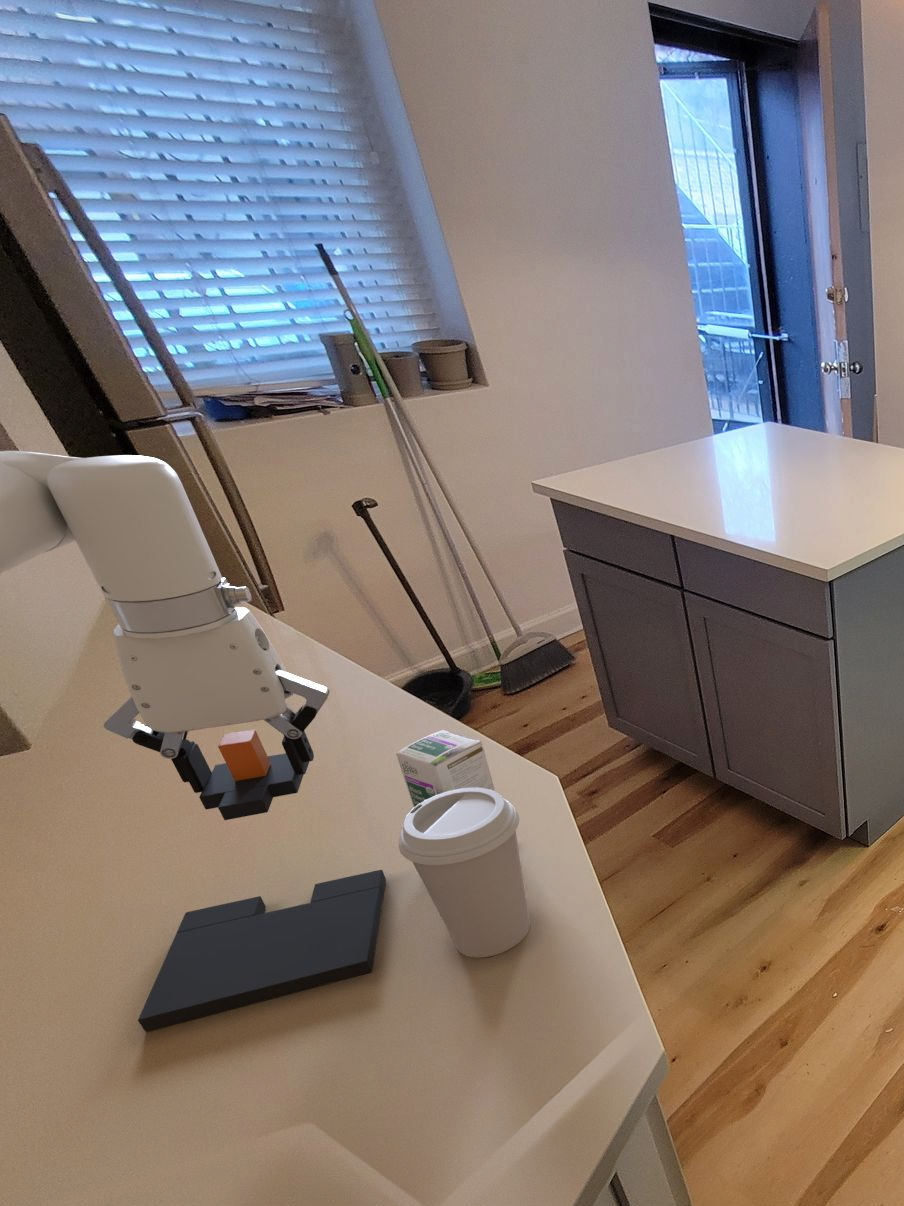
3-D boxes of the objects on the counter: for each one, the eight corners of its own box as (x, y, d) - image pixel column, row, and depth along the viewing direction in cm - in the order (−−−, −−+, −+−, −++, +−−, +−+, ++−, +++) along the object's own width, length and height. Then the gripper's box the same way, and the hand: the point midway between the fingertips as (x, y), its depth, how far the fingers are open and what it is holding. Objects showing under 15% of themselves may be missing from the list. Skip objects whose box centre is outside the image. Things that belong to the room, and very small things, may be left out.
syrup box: (429, 864, 86) (390, 752, 79) (475, 833, 91) (442, 726, 84) (469, 878, 85) (433, 766, 78) (513, 846, 90) (483, 738, 83)
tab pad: (197, 825, 72) (170, 775, 69) (221, 777, 78) (197, 729, 75) (293, 807, 75) (271, 759, 72) (308, 762, 81) (288, 716, 78)
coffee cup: (503, 888, 84) (468, 772, 76) (568, 920, 80) (537, 801, 73) (415, 947, 76) (366, 823, 69) (482, 984, 73) (439, 859, 65)
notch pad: (145, 1032, 66) (137, 1020, 66) (191, 923, 77) (185, 912, 76) (372, 972, 73) (367, 960, 73) (386, 879, 84) (382, 869, 83)
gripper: (306, 581, 75) (366, 740, 83) (55, 603, 67) (150, 775, 76) (291, 609, 69) (357, 776, 78) (15, 637, 61) (123, 819, 70)
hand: (254, 775), depth 77 cm, fingers closed on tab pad, 7 cm apart
